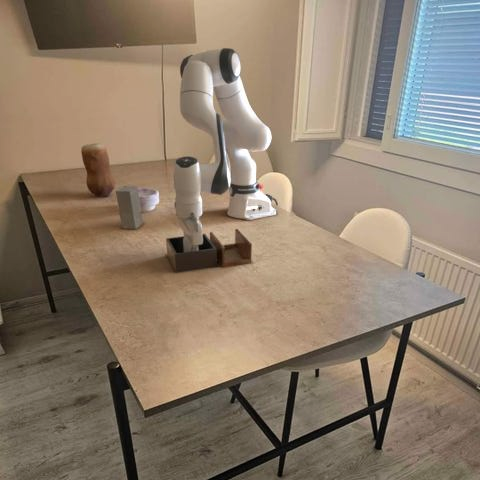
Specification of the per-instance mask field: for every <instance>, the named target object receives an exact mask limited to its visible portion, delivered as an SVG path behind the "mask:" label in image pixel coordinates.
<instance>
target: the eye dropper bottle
mask: <svg viewBox="0 0 480 480" xmlns="http://www.w3.org/2000/svg"><path fill="white" fill-rule="evenodd" d="M191 247H192V244H191V242H190V241H189V239H188V238H187V236H186V237H184V238H183V248H184V252H191ZM197 250H198V248H197Z"/></svg>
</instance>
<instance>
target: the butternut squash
mask: <svg viewBox="0 0 480 480" xmlns="http://www.w3.org/2000/svg"><path fill="white" fill-rule="evenodd" d="M80 152H81V158H82V162H83V166H84V169H85V171H86V179H85V180H86V182H85V183H86V188H87V189H88V190H89V192H90V193H91V194H92V195H95V196H96V197H98V198H100V197H101V198H107V197H108V196H110V195H111V193H112V192H113V191H114V189H115V187H116V180H115V177H114V176H113V174H112V171H111V165H110V158H109V154H108V151H107V148H106V147H105V145H104V144H102V143H100V142H99V143H91V144H84V145H82V146H81V151H80Z"/></svg>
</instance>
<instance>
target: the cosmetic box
mask: <svg viewBox="0 0 480 480" xmlns="http://www.w3.org/2000/svg"><path fill="white" fill-rule="evenodd" d="M138 188H139V187H138V186H128V185H127V186H126V185H125V186H122V187H120V188H118V189H117V190H116V191H115V194H116V200H117V206H118V213H119V217H120V223H121V229H127V230H129V229H130V230H137V229H138V228H139V227H140V226H142V225H143V224H144V220H143V215H142V214H143V212H141V206H140V199H139V192H138Z"/></svg>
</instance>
